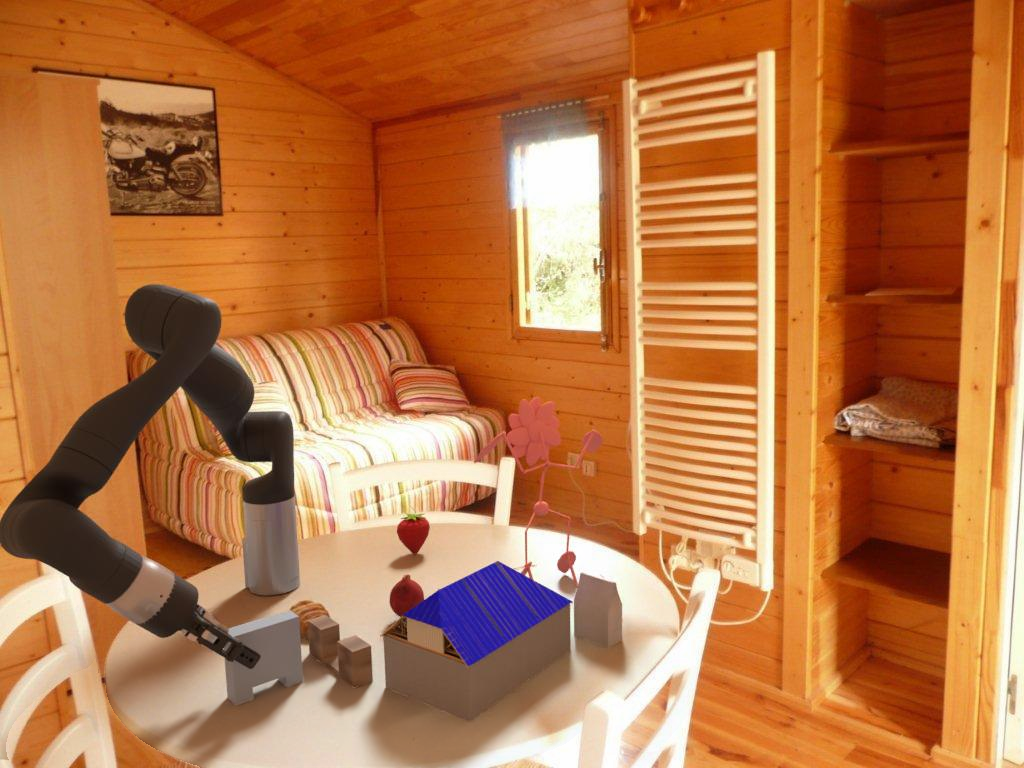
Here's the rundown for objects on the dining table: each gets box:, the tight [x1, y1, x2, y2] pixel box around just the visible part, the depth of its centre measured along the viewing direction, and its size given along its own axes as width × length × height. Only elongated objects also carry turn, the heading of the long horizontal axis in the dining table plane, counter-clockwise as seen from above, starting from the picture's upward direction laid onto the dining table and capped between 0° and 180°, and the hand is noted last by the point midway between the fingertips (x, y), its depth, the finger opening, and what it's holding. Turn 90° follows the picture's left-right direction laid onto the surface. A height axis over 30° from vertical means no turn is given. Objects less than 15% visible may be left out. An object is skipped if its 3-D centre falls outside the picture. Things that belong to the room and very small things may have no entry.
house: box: [380, 560, 574, 723], centre depth 123 cm, size 25×16×16 cm, turn 143°
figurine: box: [473, 396, 605, 586], centre depth 155 cm, size 15×26×35 cm, turn 124°
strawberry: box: [396, 507, 431, 555], centre depth 172 cm, size 6×8×10 cm
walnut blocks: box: [308, 615, 374, 689], centre depth 125 cm, size 14×3×6 cm, turn 40°
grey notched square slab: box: [223, 609, 304, 707], centre depth 119 cm, size 10×3×10 cm, turn 130°
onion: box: [389, 573, 425, 618], centre depth 141 cm, size 6×6×8 cm
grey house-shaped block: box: [573, 572, 623, 649], centre depth 133 cm, size 4×7×10 cm, turn 47°
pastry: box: [288, 599, 331, 640], centre depth 139 cm, size 9×7×4 cm
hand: (243, 651), depth 117 cm, fingers open, 8 cm apart
